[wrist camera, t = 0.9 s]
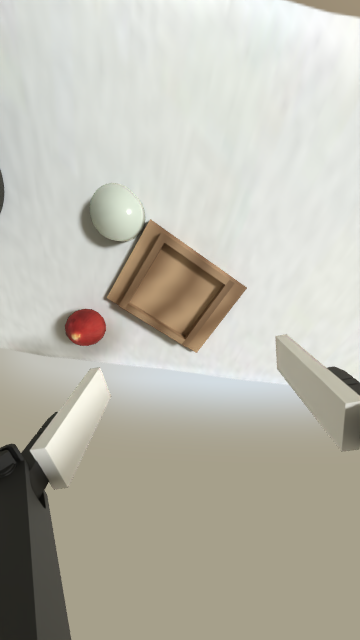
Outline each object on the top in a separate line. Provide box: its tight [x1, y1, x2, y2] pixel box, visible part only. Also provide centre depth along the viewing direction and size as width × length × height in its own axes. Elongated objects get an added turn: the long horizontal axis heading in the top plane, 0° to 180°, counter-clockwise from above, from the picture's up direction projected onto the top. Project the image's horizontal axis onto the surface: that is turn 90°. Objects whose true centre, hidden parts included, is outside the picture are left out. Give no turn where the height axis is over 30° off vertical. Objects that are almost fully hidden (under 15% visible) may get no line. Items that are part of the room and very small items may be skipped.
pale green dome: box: [90, 183, 145, 241], centre depth 29 cm, size 7×7×3 cm
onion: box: [65, 309, 106, 346], centre depth 33 cm, size 6×6×8 cm
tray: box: [107, 219, 247, 353], centre depth 33 cm, size 18×14×3 cm
